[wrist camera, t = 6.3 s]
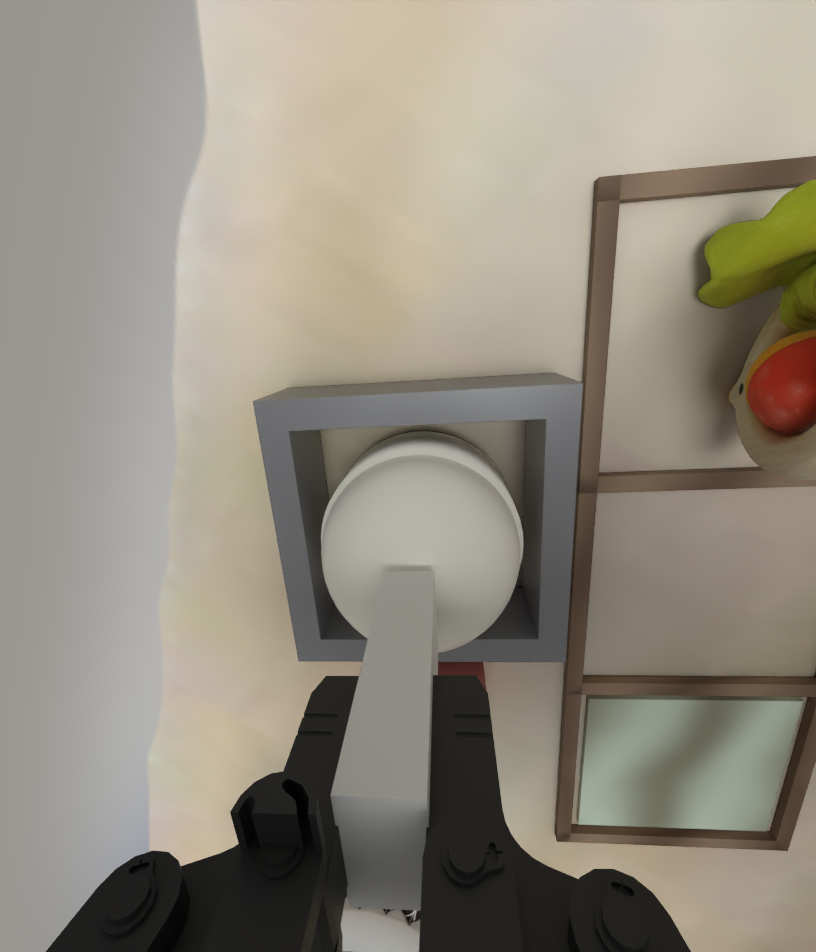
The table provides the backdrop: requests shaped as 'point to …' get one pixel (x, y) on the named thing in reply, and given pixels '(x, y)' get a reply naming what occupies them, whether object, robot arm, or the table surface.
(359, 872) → the robot arm
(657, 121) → the table surface
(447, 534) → the dome
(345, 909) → the decorative candle
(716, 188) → the frame
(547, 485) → the dome housing
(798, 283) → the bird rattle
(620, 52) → the table surface
